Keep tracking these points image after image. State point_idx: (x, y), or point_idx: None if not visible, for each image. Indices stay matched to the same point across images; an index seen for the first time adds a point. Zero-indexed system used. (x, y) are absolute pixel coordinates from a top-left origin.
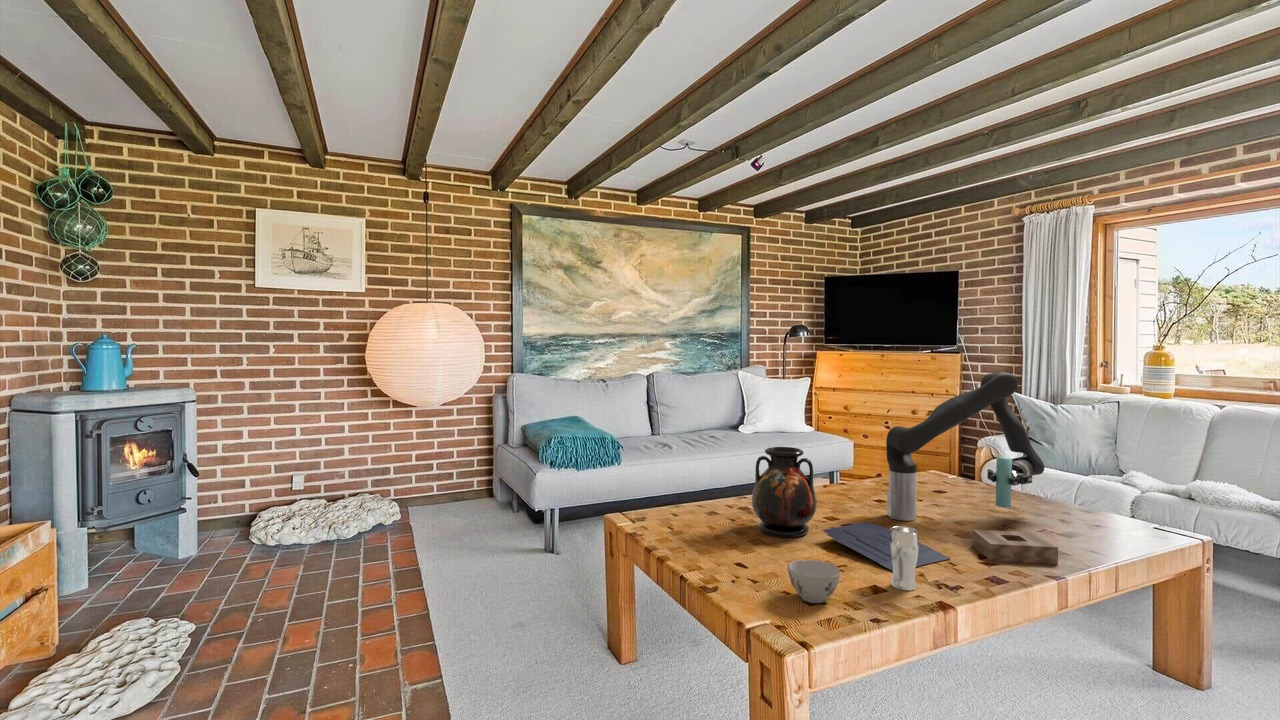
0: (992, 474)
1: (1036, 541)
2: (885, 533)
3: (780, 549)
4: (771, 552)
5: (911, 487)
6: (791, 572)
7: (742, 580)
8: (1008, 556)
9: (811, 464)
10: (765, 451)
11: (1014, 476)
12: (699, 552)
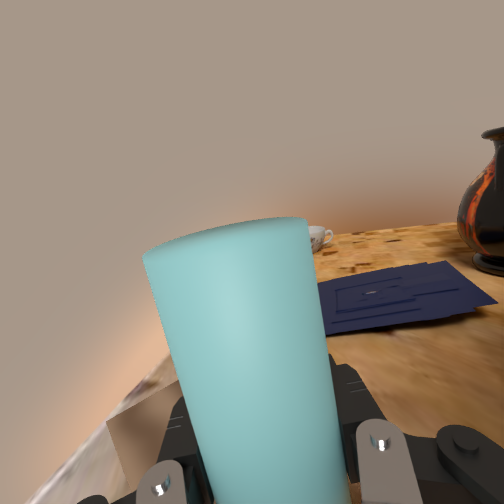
0: (406, 439)
1: (152, 424)
2: (416, 305)
3: (428, 255)
4: (420, 251)
5: None
6: (311, 227)
7: (361, 239)
8: None
9: (497, 154)
10: None
11: (169, 461)
12: (439, 231)
